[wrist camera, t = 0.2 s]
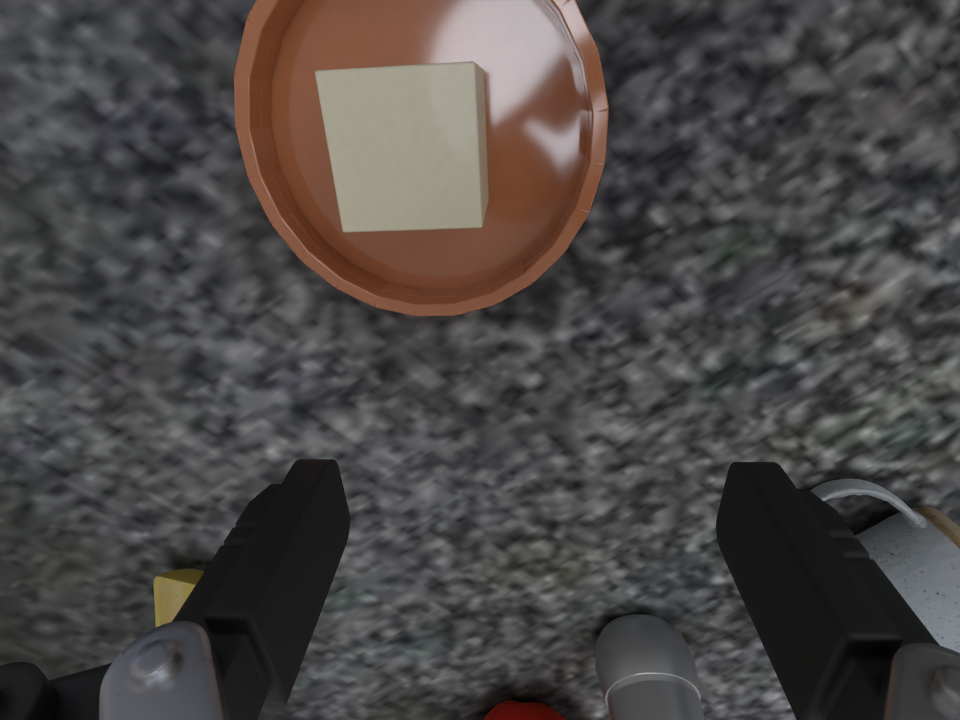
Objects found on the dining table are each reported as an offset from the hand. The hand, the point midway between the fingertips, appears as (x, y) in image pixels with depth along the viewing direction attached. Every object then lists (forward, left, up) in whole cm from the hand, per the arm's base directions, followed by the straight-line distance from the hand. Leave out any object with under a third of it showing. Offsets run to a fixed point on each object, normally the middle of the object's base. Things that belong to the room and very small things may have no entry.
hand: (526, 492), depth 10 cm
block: (-6, -4, -14) cm, 16 cm away
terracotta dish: (-6, -4, -15) cm, 17 cm away
